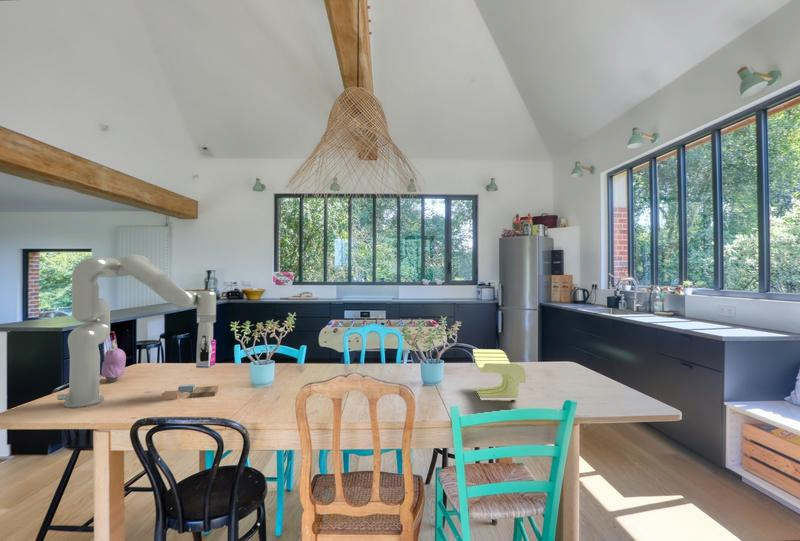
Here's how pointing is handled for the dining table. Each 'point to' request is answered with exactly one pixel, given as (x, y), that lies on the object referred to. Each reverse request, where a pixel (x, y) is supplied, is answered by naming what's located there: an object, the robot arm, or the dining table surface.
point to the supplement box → (210, 356)
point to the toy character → (113, 363)
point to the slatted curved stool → (501, 365)
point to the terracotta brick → (170, 395)
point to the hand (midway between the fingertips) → (205, 358)
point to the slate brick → (186, 388)
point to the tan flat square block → (204, 391)
